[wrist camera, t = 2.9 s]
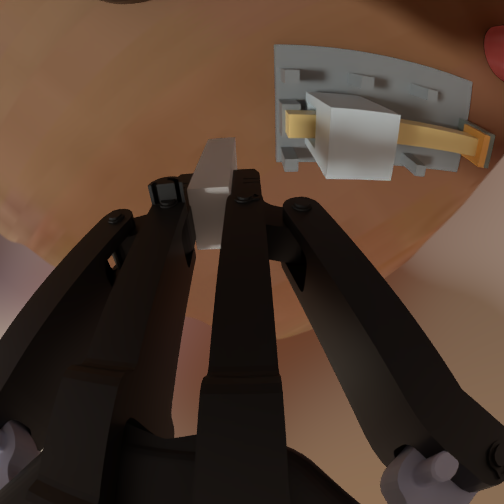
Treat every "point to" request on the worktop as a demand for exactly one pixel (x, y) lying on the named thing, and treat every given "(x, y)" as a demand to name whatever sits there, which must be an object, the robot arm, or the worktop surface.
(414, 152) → the cable comb
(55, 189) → the worktop surface
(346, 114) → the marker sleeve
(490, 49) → the flower pot
